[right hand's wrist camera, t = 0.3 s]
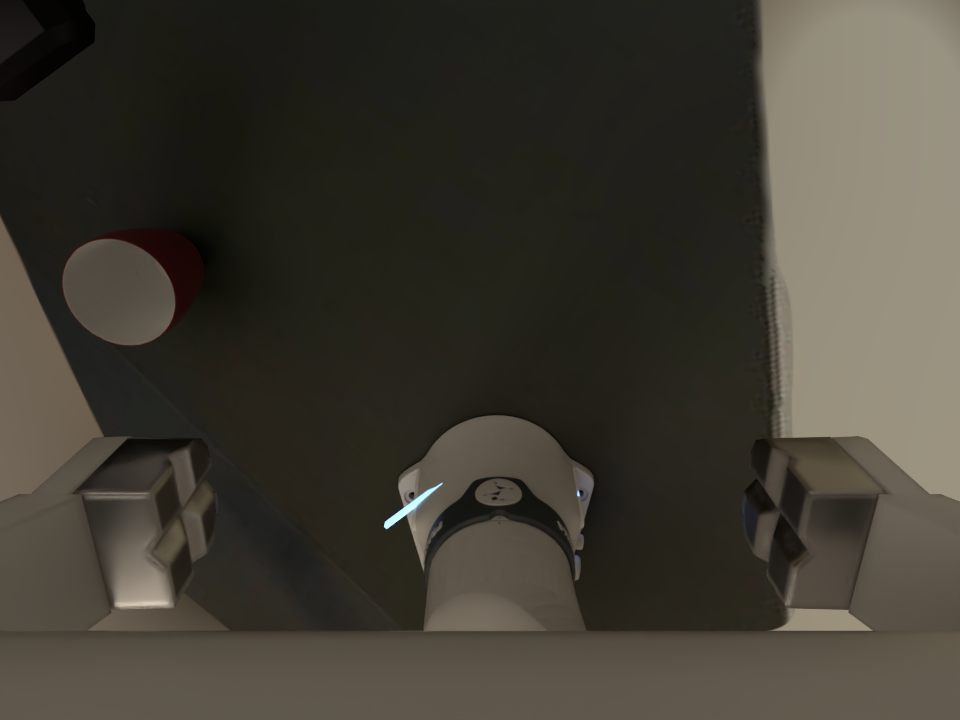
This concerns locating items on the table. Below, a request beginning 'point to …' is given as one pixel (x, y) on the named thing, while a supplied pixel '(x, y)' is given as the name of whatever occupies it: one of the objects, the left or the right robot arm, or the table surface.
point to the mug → (132, 284)
